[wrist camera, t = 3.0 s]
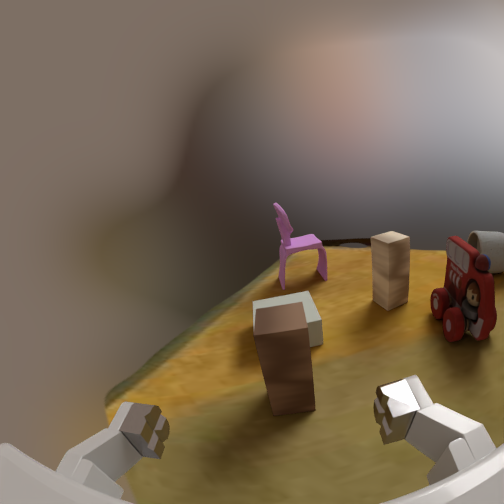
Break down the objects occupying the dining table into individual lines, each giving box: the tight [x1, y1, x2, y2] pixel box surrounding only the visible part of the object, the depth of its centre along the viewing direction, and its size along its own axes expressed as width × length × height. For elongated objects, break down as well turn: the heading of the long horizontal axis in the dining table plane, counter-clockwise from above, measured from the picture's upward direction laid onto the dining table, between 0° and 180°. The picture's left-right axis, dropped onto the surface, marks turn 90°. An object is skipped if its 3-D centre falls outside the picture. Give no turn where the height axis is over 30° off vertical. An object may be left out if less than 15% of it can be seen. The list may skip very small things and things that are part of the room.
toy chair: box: [273, 203, 327, 290], centre depth 49 cm, size 8×9×15 cm
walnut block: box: [253, 302, 315, 416], centre depth 22 cm, size 4×4×10 cm
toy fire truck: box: [431, 236, 497, 342], centre depth 24 cm, size 7×12×10 cm, turn 166°
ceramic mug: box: [467, 231, 504, 274], centre depth 34 cm, size 11×8×8 cm
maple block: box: [371, 231, 410, 311], centre depth 35 cm, size 4×4×10 cm
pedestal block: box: [253, 291, 323, 347], centre depth 35 cm, size 8×8×4 cm
